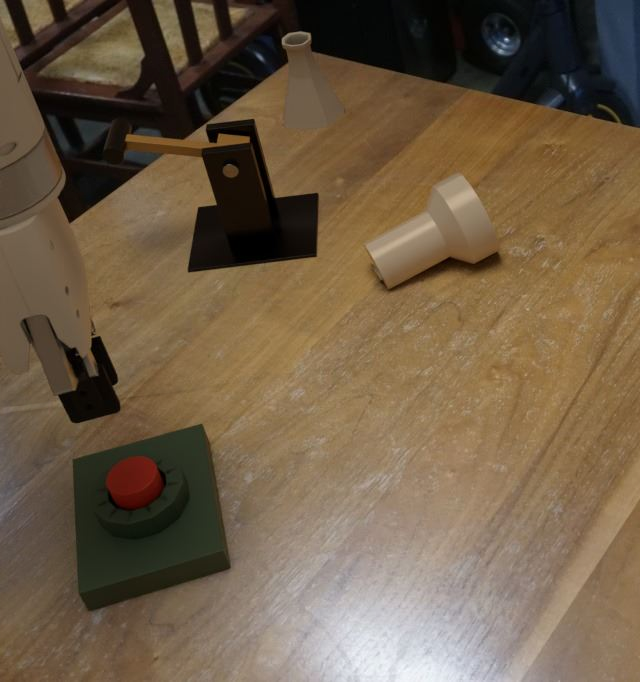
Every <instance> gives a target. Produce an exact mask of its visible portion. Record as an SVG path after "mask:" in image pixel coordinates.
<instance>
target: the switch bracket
mask: <svg viewBox="0 0 640 682" xmlns="http://www.w3.org/2000/svg"><path fill="white" fill-rule="evenodd" d="M205 133H206V137H207V141H208V143H217V140H218V134H227V135H237V136H246V137H250V143H242V144H233V145H225V146H216V147H208V148H202V153H201V155H202V157H201V158H202V161H203V165H204V168H205V171H206V174H207V177H208V181H209V184H210V187H211V191H212V193H213V197H214V201H215V203H216V204H213V205H205V206H198V207H197V210H196V212H197V213H196V217H195V222H194V229H193V236H192V241H191V247H190V253H189V259H188V265H187V273H196V272H205V271H211V270H221V269H230V268H238V267H246V266H253V265H261V264H270V263H278V262H286V261H295V260H302V259H310V258H317V257H318V232H319V230H318V228H319V227H318V226H319V197H320V195H319V192H312V193H303V194H295V195H287V196H278V197H276V195H275V192H274V188H273V183H272V180H271V176H270V172H269V169H268V166H267V161H266V158H265V154H264V149H263V146H262V142H261V139H260V135H259V131H258V127H257V124H256V120H255V118H247V119H239V120H230V121H223V122H214V123H207V124H205Z"/></svg>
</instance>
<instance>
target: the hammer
mask: <svg viewBox="0 0 640 682" xmlns="http://www.w3.org/2000/svg"><path fill="white" fill-rule="evenodd" d="M132 130H133V126H132V123H131V122H130V121H129V120H127V118H124V117H116V118H114V119H112V121H111V123H110V126H109V130H108V134H107V137H106V140H105V144H104V147H103V150H102V153H101V154H102V158H103V161H105V162H106V163H107V164H108V165H111V166H112V165H113V166H118V165H121V164H122V163H123V162H124V160H125V157H126V153H127V151H133V152H142V153H144V152H145V153H155V154H163V155H174V156H175V155H176V156H183V157H184V156H185V157H193V158H194V157H195V158H202V155H201V153H202V148H208V147H216V146H225V145H233V144H242V143H250V137H246V136H237V135H227V134H218V140H217V143H209V141H208V142H207V141H206V142H205V141H197V140H189V139H188V140H187V139H179V138H178V139H177V138H169V137H168V138H167V137H159V136H148V135H140V134H139V135H138V134H132Z"/></svg>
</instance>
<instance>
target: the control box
mask: <svg viewBox="0 0 640 682" xmlns="http://www.w3.org/2000/svg"><path fill="white" fill-rule="evenodd" d="M138 456H140V457H146V458H149V459H151V460H152V461H153V462H154V463H155V464H156V466H157V469H158V471H159V473H160V475H161V478H162V480H163V489H162V492H161V494H160V495H159V497H158V498H157V499H156V500H155V501H154V502H152V503H151V504H149V505H148V506H146V507H143V508H139V509H135V510H127V509H123V508H121V507H119V506H118V505H117V504H116V503H115V502H114V500H113V498H112V496H111V494H110V492H109V490H108V488H107V485H106V479H107V476H108V473H109V472H110V470H111V469H112V468H113V467H114V466H115V465H116V464H118V463H119V462H121V461H123V460H125V459H127V458H131V457H138ZM72 479H73V481H72V482H73V499H74V500H73V503H74V523H75V548H76V549H75V550H76V569H77V570H76V571H77V572H76V573H77V587H78V588H77V590H78V593H77V594H78V595H79V597H80V599H81V600H82V602H83V604H84V606H85V608H86V609H87V611H88V612H90V611H94V610H97V609H101V608H104V607H107V606H111V605H114V604H118V603H120V602H121V603H122V602H123V601H127V600H130V599H134V598H137V597H140V596H144V595H147V594H150V593H153V592H157V591H161V590H163V589H164V590H165V589H167V588H170V587H173V586H177V585H180V584H183V583H186V582H190V581H194V580H196V579H200V578H203V577H206V576H210V575H213V574H217V573H220V572H224V571H226V570H229V569H231V568H232V567H231V561H230V555H229V549H228V544H227V543H228V542H227V538H226V537H227V536H226V531H225V526H224V519H223V514H222V509H221V508H222V507H221V502H220V496H219V491H218V485H217V479H216V472H215V466H214V461H213V455H212V449H211V444H210V440H209V437H208V435H207V432H206V429H205V426H204V424H203V423H199V424H195V425H192V426H189V427H184V428H180V429H177V430H173V431H170V432H166V433H163V434H159V435H155V436H151V437H147V438H144V439H140V440H138V441H134V442H130V443H127V444H123V445H120V446H116V447H112V448H109V449H104V450H101V451H98V452H94V453H90V454H87V455H83V456H79V457H76V458H73V459H72Z"/></svg>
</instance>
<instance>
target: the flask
mask: <svg viewBox="0 0 640 682" xmlns="http://www.w3.org/2000/svg"><path fill="white" fill-rule="evenodd" d="M311 44H312V34H311V32H306V31H301V30H300V31H295V32H288V33H287V34H286V35H284V36H283V37H282V38H281V46H282V48H283V50H285V51H286V55H287V60H288V62H287V63H288V74H287V75H288V76H287V83H286V92H285V100H284V106H283V112H282V121H283V127H286V128H290V129H295V130H299V131H304V132H306V131H314V130H320V129H325V128H330V127H331V126H332V125H334V123H335V122H336V121H338V120H339V119H340V118H341V117H342V116H343V115H344V114H345V106H344V104H343V102H342V101H341V99H340V98H339V97H338V95H337V93H336V92H335V91H334V89H333V88H332V86H331V85H330V83H329V82H328V80H327V78H326V76H325V75H324V74H323V72H322V70H321V69H320V67H319V66H318V63H317V62H316V59H315V57H314V55H313V54H314V53H313V51H312V48H311Z"/></svg>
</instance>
